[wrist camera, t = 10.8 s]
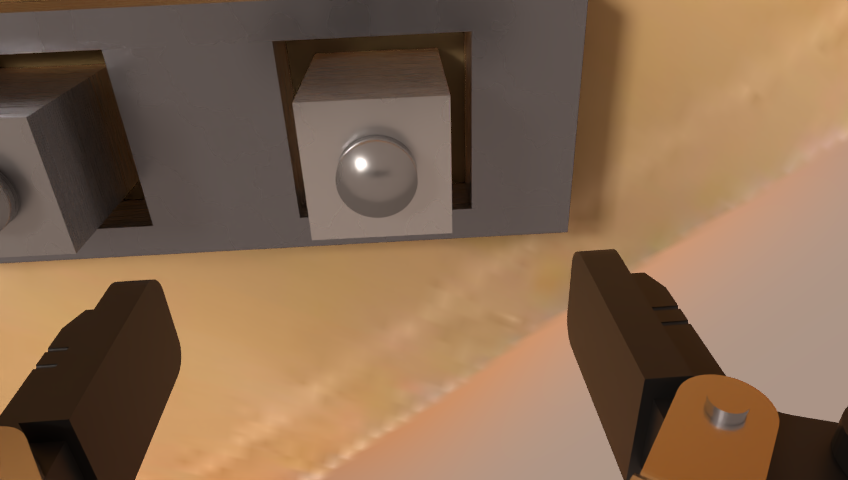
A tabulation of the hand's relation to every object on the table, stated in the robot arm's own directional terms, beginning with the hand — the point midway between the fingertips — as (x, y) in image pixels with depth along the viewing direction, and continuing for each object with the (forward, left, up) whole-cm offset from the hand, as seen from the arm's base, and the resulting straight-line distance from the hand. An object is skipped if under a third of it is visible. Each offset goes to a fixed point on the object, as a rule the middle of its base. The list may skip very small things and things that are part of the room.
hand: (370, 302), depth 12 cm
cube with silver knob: (0, 0, -13) cm, 13 cm away
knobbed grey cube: (0, -12, -13) cm, 18 cm away
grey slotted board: (0, -6, -13) cm, 15 cm away
